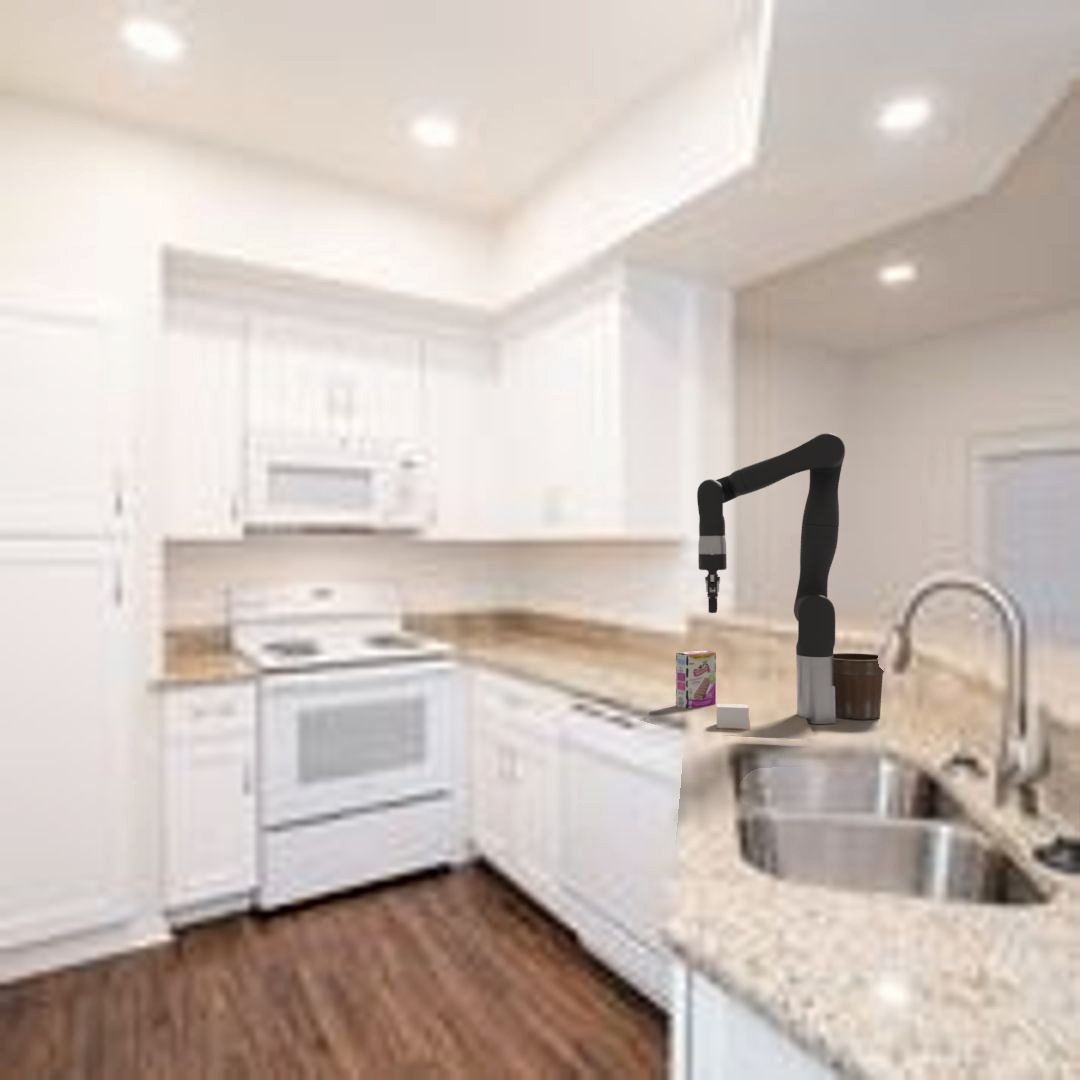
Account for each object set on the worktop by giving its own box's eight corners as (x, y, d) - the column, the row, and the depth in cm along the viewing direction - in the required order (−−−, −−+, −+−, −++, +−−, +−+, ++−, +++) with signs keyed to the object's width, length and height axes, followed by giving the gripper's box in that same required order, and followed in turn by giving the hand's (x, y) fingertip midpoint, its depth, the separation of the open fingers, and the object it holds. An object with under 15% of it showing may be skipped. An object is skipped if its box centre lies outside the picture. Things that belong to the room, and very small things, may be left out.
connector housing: (716, 727, 196) (716, 706, 196) (717, 723, 201) (716, 703, 201) (748, 728, 195) (748, 708, 195) (748, 724, 199) (748, 704, 199)
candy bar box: (687, 714, 221) (687, 654, 221) (675, 711, 225) (674, 652, 225) (717, 709, 227) (716, 651, 227) (704, 706, 231) (704, 649, 231)
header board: (748, 720, 212) (748, 714, 212) (750, 736, 193) (750, 730, 193) (717, 718, 214) (717, 713, 214) (716, 735, 195) (716, 729, 195)
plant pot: (810, 712, 221) (809, 654, 221) (856, 708, 227) (855, 651, 227) (853, 724, 206) (852, 661, 206) (901, 719, 212) (900, 658, 212)
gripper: (699, 552, 229) (699, 609, 228) (697, 552, 215) (698, 613, 214) (726, 552, 227) (726, 610, 227) (726, 552, 213) (727, 613, 213)
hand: (713, 611), depth 220 cm, fingers open, 8 cm apart
